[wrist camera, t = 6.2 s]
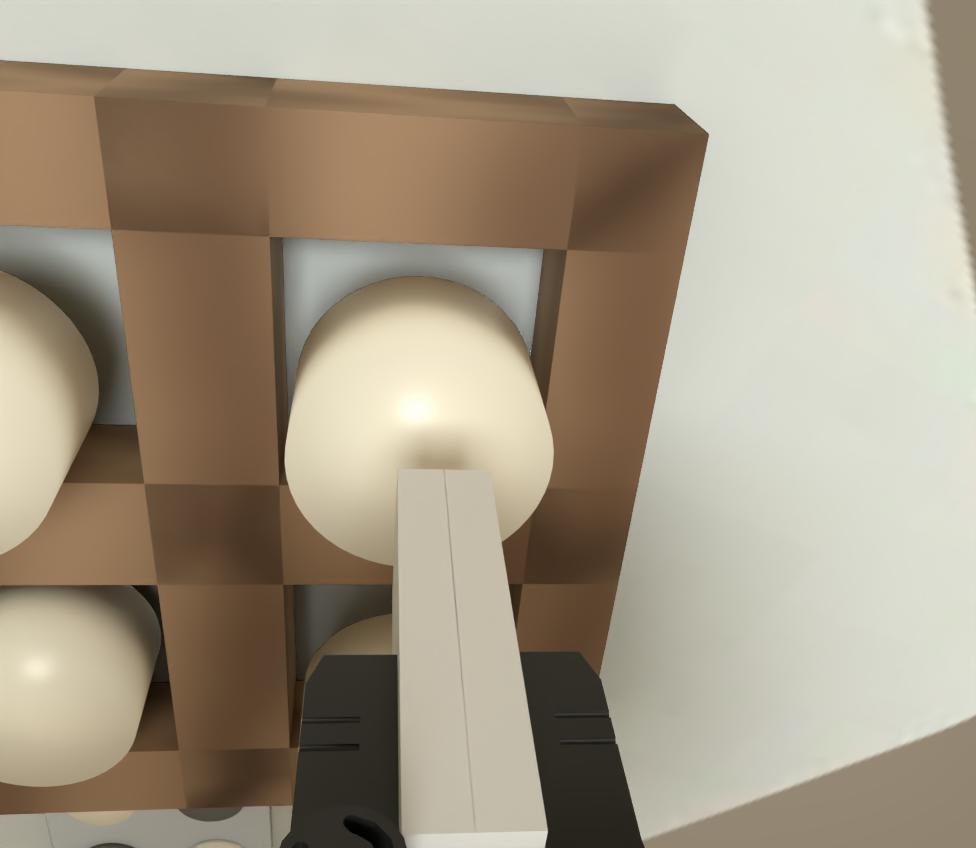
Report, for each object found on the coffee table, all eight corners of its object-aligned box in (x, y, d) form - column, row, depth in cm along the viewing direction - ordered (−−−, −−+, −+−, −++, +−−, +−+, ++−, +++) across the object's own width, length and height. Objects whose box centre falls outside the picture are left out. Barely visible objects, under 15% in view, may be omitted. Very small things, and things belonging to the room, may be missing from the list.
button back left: (-16, 698, 26) (-58, 789, 24) (-55, 559, 24) (-107, 645, 21) (169, 695, 27) (147, 783, 24) (151, 559, 24) (124, 643, 22)
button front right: (299, 480, 21) (287, 567, 18) (294, 271, 18) (280, 339, 16) (519, 482, 22) (538, 567, 19) (544, 281, 19) (569, 347, 16)
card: (68, 888, 32) (64, 902, 32) (34, 753, 29) (29, 767, 28) (274, 880, 33) (272, 893, 33) (266, 748, 30) (264, 761, 29)
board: (-91, 745, 28) (-129, 818, 26) (-339, 37, 18) (-436, 64, 16) (561, 730, 31) (574, 796, 29) (674, 104, 20) (709, 134, 18)
